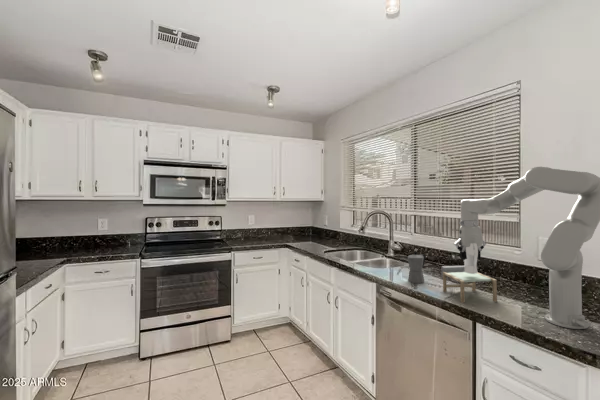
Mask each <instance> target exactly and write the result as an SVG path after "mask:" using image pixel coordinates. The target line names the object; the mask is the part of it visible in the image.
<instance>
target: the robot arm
mask: <svg viewBox="0 0 600 400" xmlns="http://www.w3.org/2000/svg"><path fill="white" fill-rule="evenodd" d="M545 190H546V191H550V192H556V193H557V192H558V193H563V194H568V195H577V200H576V201H575V203H574V204H573V206H572V208H571V211H570V212H569V214H568V215H567V217H566V219H565V220H564V219H563V220H561V221H560V222H558V223H557V224H555V226H553V228H552V230H551V232H550V234H549V236H548V237H547V240H546V241H545V244H544V246H543V248H542V250H541V252H540V260H541V262H542V264H543V265H544V266H545V267H546V268H547V269H548V271H549V272H548V288H549V289H548V291H549V293H548V294H549V297H548V298H549V300H548V301H549V313H546V314H544V319H545V320H546V321H547V322H549V324H552V325H554V326H555V325H556V326H557V327H561V328H567V329H571V330H572V329H574V330H584V329H585V330H586V329H588V328H589V327H590V326H592V322H590V321H588V320H586V319H585V317H586V315H584V314H583V307H582V306H583V301H582V299H583V298H582V297H583V296H582V286H583V285H582V281H583V280H582V274H583V265H584V263H583V261H584V259H583V258H584V256H583V254H582V251H581V249H582V246H583V245H584V244H585V243H586V242H588V241H590V240H591V239H592V238H593V236H594V234H595V232H596V229H597V227H598V225H599V223H600V177H599V176H598V175H596V174H594V173H591V172H588V171H579V170H578V171H576V170H575V171H574V170H568V169H567V170H566V169H559V168H558V169H557V168H551V167H548V166H534V167H532V168H530V169H529V170H528V171H526V173H525V175H524V176H522V177H520V178H518V179H516V180H514V181H512V182H510V183H509V184H508V185H507V188H506V189H505V190H504V191H502V192H501V193H499V194H496V195H495V196H492V197H490V198H479V199H473V198H469V199H467V198H466V199H462V200H461V201H460V221H459V222H458V225H460V226H459V231H458V239H457V240H456V241H454V243H453V246H454V247H455V248H456V249H457V250H458V251H459V257H460V260H463V261H464V260H465V259H466V258H465V252H464V251H465V248H466V247H470V244H471V243H477V247H478V259H477V260H481V253H482V250H483V249H484V248H485V247H486V245H487V242H486V241H484V239H483V233H482V229H481V226H479V215H482V216H483V215H490V214H491V215H492V214H493V215H494V214H497V213H499V212H502V211H503V210H506V209H508V208H510V207H512V206H514V205H516V204H517V203H521V201H523V200H525V199H527V198H530V197H532V196H534V195H536V194H538V193H540V192H543V191H545Z"/></svg>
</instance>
